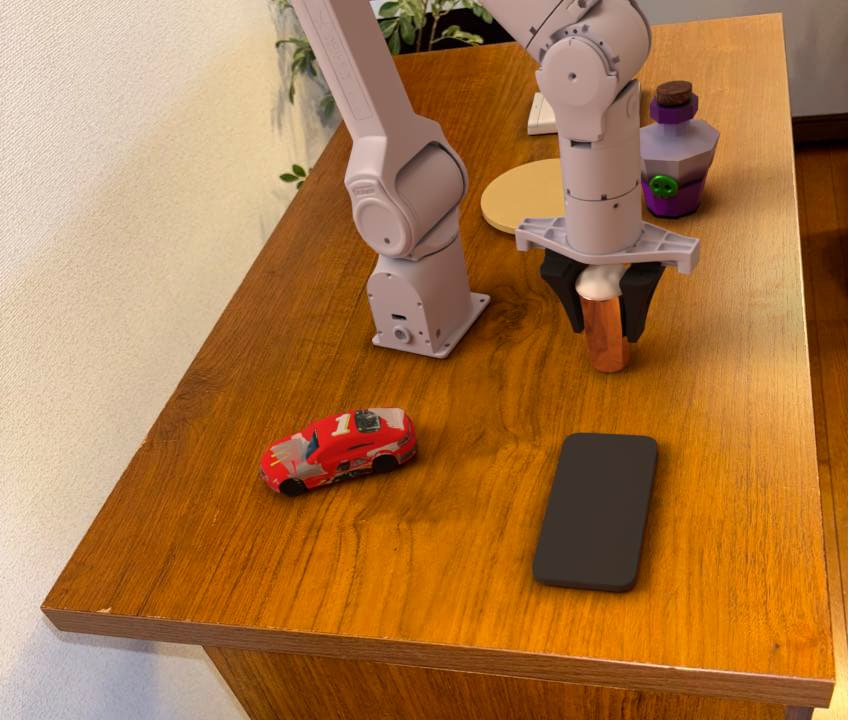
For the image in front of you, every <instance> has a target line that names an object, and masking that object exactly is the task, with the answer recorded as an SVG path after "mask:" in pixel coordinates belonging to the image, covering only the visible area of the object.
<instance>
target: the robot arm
mask: <svg viewBox="0 0 848 720" xmlns="http://www.w3.org/2000/svg"><path fill="white" fill-rule="evenodd" d="M476 1H477V2H478V3H479V4H480V5H481V6H482V7H483V8H484V9H485V10H486V11H487V13H489V14H490V15H491V16H492V17H493V19H494V20H496V22H498V24H499V25H500V26H501V27H502V28H503V29H504V30H505V31H506V32H507V33H508V34H509V35H510V36H511V38H513V39H514V40H515V41H516V42H517V43H518V44H519V46H521V47H522V49H524V50H525V51H526V53H528V54H529V55H530V57H531V58H532V59H534V61H535V62H536V63H537V64H538V65H540V66H539V68H538V69H536V70H535V71H534V74H535V79H536V83H537V87H538V89H539V91H540V92H541V93H542V95H543V96H544V98H545V99H546V101H547V102H548V103H549V104H550V106H551V107H552V109H553V111H554V115H555V122H556V130H558V133H557V134H558V135H557V136H558V146H559V158H560V161H561V173H562V185H563V198H564V210H565V216H562V217H549V218H532V217H525V218H524V219H523V220H522V222H521V223H520V224H519V225H518V226H517V228H516V229H515V234H514V235H515V244H516V250H517V251H520V252H530V251H531V250H532V248H533V249H538V250H539V249H540V250H544V258H543V259H544V260H543V262H542V263H541V264H540V266H539V274H540V278H541V279H542V280H543V281H544V282H545V283H546V284H547V285H548V286H549V287H550V288H551V290H552V291H553V292H554V293H555V295H556V297H557V298H558V300H559V301H560V304H561V305H562V308H563V310H564V312H565V314H566V316H567V319H568V321H569V323H570V326H571V328H572V331H573V333H575V334H580V335H581V334H582V333H583V332H584V331H585V327H584V322H583V317H582V313H581V309H580V305H579V300H578V296H577V291H576V287H575V284H576V279H577V277H578V276H579V274H580V273H581V272H582V271H583V270H584V269H586V268H587V267H588V266H590V265H606V264H621V265H623V264H630V265H629V267H627V268H628V269H627V270H626V272H625V273H624V275H623V276H622V278H621V279H620V281H619V287H620V289H621V292H622V295H623V299H624V303H625V309H626V335H627V340H628V342H629V343H630V344H637V343H638V342H639V340H640V338H641V337H642V335H643V334H644V332H645V330H646V323H647V318H648V314H649V309H650V306H651V303H652V300H653V297H654V294H655V292H656V289H657V287H658V285H659V282H660V280H661V278H662V277H663V274H664V273H665V270H666V268H675V269H677V273H678V274H680V275H687V276H688V275H689V276H691V275H692V274H693V272H694V271H695V270H696V268H697V266H698V264H699V263H700V260H701V239H700V238H699V237H698V238H697V237H693V236H692V237H691V236H686V235H682V234H679V233H677V232H674V231H671V230H668V229H665V228H663V227H661V226H657V225H655V224H653V223H650V222H647V221H644V220H643V219H642V218H643V215H642V214H643V213H642V185H641V159H640V128H641V120H640V119H641V117H640V110H639V83H640V82H639V78H636V77H635V76H636V75H637V74H639V72H640V71H641V69H642V68H643V66H644V65H645V63H646V62H647V60H648V58H649V57H650V54H651V51H652V45H653V31H652V27H651V23H650V21H649V18H648V16H647V14H646V12H645V11H644V10H643V8H642V7H641V6H640V4H639V2H638V0H476ZM290 3H291V5H292V7H293V10H294V12H295V14H296V16H297V18H298V19H297V20H298V21H299V23H300V26H301V27H302V30H303V32H304V35H305V37H306V39H307V41H308V44H309V45H310V47H311V50H312V52H313V55H314V56H315V59H316V61H317V63H318V65H319V67H320V70H321V72H322V75H323V76H324V79H325V82H326V84H327V85H328V88H329V90H330V92H331V95H332V97H333V99H334V102H335V104H336V106H337V108H338V110H339V112H340V115H341V117H342V119H343V121H344V124H345V126H346V127H347V130H348V132H349V135H350V137H351V139H352V148H351V152H350V156H349V160H348V163H347V167H346V171H345V175H344V179H343V183H344V185H345V188H346V190H347V192H348V195H349V197H350V200H351V207H352V219H353V222H354V224H355V227H356V230H357V231H358V233H359V235H360V236H361V238H362V239H363V241H364V242H365V243H366V244H367V245H368V246H369V247H370V248H371V249H372V250H374V251H375V253H376V254H378V259H377V263H376V266H375V267H374V270H373V271H372V273H371V275H370V276H369V278H368V281H367V283H366V295H367V298H368V302H369V306H370V310H371V314H372V317H373V321H374V325H375V330H376V332H377V333H376V334H375V335H374V337H372V339H371V341H372V344H373V345H374V346H378V347H382V348H383V347H384V348H389V349H393V350H398V351H403V352H408V353H412V354H418V355H422V356H426V357H433V358H436V359H445V358H447V357H448V356H449V355H450V353H451V352H452V351H453V350H454V348H455V347H456V346H457V344H458V343H459V342H460V341H461V339H462V338H463V337H464V336H465V334H466V333H467V332H468V330H469V329H470V327H472V325H473V324H474V323H475V321H476V320H477V319H478V318H479V316H480V315H481V314H482V312H483V311H484V310H485V309H486V307H487V306H488V305H489V303H490V302H491V296H490V295H488V294H484V293H480V292H479V293H478V292H473V291H471V288H470V281H469V275H468V271H467V270H468V269H467V264H466V259H465V253H464V247H463V242H462V236H461V230H460V223H459V220H460V218H461V217H462V214H461V209H460V208H461V207H460V204H461V202H462V201H463V200H464V199H465V197H466V196H467V194H468V191H469V186H470V185H469V184H470V180H469V174H468V170H467V167H466V164H465V163H464V162H463V161H464V160H463V159H462V158H461V156H460V155H459V154H458V152H457V151H456V150H455V149H454V148H453V147H452V146H451V145H450V143H449V142H448V140H447V139H446V136H445V134H444V132H443V129H442V126H441V124H440V123H439V122H438V121H436V120H433V119H431V118H427V117H424V116H422V115H419V114H417V113H415V111H414V108H413V106H412V103H411V101H410V99H409V96H408V94H407V90H406V89H405V86H404V84H403V82H402V79H401V76H400V73H399V71H398V69H397V65H396V64H395V62H394V59H393V57H392V53H391V52H390V48H389V47H388V44H387V41H386V39H385V36H384V34H383V31H382V29H381V27H380V24H379V22H378V19H377V17H376V14H375V12H374V9H373V6H372V4H371V2H370V0H290ZM634 77H635V78H634Z"/></svg>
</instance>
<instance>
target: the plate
mask: <svg viewBox="0 0 848 720" xmlns="http://www.w3.org/2000/svg"><path fill="white" fill-rule="evenodd" d="M480 210H481V215H482V216H483V218H484V220H485V221H486V222H487V223H488V224H489V225H490V226H491V227H493V228H494V229H497V230H499V231H501V232H504V233H507V234H510V235H515V229H516V228H517V226H518V225H519V224H520V223H521V222H522V220H523V219H524V218H525V217H532V218H549V217H562V216H565V210H564V198H563V185H562V173H561V161H560V157H557V158H546V159H540V160H534V161H531V162H528V163H527V162H526V163H524V164H521V165H519V166H516V167H514V168H511V169H509V170H507V171H505V172H503V173H501V174H500V175H499V176H497V177H496V178H494V179H493V180H491V182H490V183H489V184H488V185H487V186H486V187H485V189H484V191H483V192H482V194H481V197H480Z"/></svg>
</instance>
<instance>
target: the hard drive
mask: <svg viewBox="0 0 848 720" xmlns="http://www.w3.org/2000/svg"><path fill="white" fill-rule="evenodd" d="M641 100H642V83H641V82H639V111H640V109H641V102H642V101H641ZM556 133H557V134H558V130H556V122H555V115H554V111H553V109H552V107H551V106H550V104H549V103H548V102H547V101H546V99H545V98H544V96H543V95H542V93H541V91H540V92H535V93H534V97H533V101H532V105H531V109H530V113H529V116H528V120H527V136H532V135H545V134H556Z"/></svg>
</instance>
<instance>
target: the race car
mask: <svg viewBox="0 0 848 720" xmlns="http://www.w3.org/2000/svg"><path fill="white" fill-rule="evenodd" d="M417 449H419V444H418V438H417V432H416V428H415V424H414V423H413V421H412V419H411V417H410V416H409V415H407V413H406V411H405V410H404V409H403V408H401V407H399V406H384V407H371V408H370V407H369V408H361V409H353V410H349V411H348V410H347V411H344V412H339V413H337V414H333V415H329V416H326V417H323V418H321V419H318V420H316V421H314V422H313V421H312V420H309V422H308V426H307V427H306V428H304V429H303V430H300V431H298V432H295V433H292V434H289V435H287V436H284V437H282V438H279V439H278V440H276V441H275V442H273V443H271V444H270V445H269V446H268V447H267V449H266V450H265V452H264V454H263V455H262V457H261V460H260V469H259V470H260V475H261V478H262V480H263V481H264V483H265V484H266V485H267V486H268V488H269V489H271V490H272V491H274V492H276V493H278V494H281V492H282V493H283V494H284V495H286V496H289V497H294V496H298V495H300V494H301V493H302V492H303V491H304V489H305V487H306V489H312V488H317V487H321V486H324V485H327V484H332V483H336V482H339V481H340V482H341V481H344V480H347V479H351V478H355V477H361V476H364V475H367V474H371V473H374V470H375V471H377V472H379V473H388V472H391V471H393V469H395V467H396V465H397V463H398V465H401V464H404V463H405V462H407V461H408V460H410V459H411V458H412V457H413V456H414V455H415V454H416V453H417ZM373 468H374V469H373Z"/></svg>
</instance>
